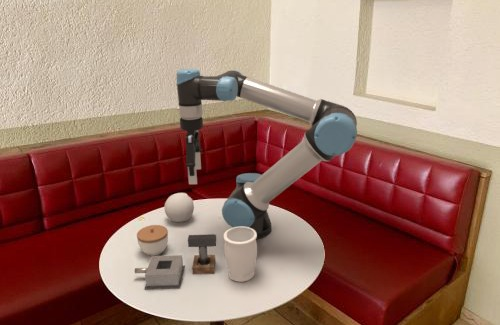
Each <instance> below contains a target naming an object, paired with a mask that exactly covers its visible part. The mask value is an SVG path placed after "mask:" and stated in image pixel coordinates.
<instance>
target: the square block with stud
mask: <svg viewBox="0 0 500 325" xmlns="http://www.w3.org/2000/svg"><path fill="white" fill-rule="evenodd" d="M183 258H184V257H183V255H179V254H177V255H155V256H151V258H150V261H149V264H148V266H147V267H136V268H134V273H135V274H144V277H145V278H144V279H145V285H144V290H170V289H171V290H174V289H175V290H176V289H181V286H182V282H183V279H184V278H183V277H184V274H185V270H186V265H184V261H183V260H184V259H183Z"/></svg>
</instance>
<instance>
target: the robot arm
mask: <svg viewBox="0 0 500 325" xmlns="http://www.w3.org/2000/svg"><path fill="white" fill-rule="evenodd" d="M176 87H177V88H176V90H177V98H178V99H177V100H178V101H177V102H178V106H177V107H176V108H177V110H176V111H179V124H180V130H182V131H185V132H187V133H186V134H185V142H186V143H185V148H186V150H185V152H186V154H185V155H186V158H185V160H186V162H185V164H184V167H185V168H187V178H188V185H198V176H197V175H198V174H197V170H202V162H201V161H202V160H201V152H202V151H203V148H202V147H201V143H200V142H201V141H200V134H199V131H200V130H203V127H204V122H203V120H204V119H203V104H202V101H218V102H219V101H220V102H221V101H222V102H230V101H231V102H233V101H235V100H236V99H237V98H240V99H243V100H247V101H249V102H251V103H255V104H257V105H259V106H263V107H266V108H268V109H272V110H274V111H277V112H279V113H283V114H285V115H288V116H291V117H294V118H297V119H299V120H302V121H305V122H308V123H309V125H310V127H309V128H308V130H306V131H305V132H304V136H303V140H302V141H301V142H299V143H298V144H297V145H296V146H295V147H293V149H290V151H289V152H287V153H286V154H285V155H283V157H282V158H281V159H279V160H278V161H277V162H276V163H275V164H273V165H272V166H271V167H269V168H268V169H267V170H266V171H264V173H262V174H260V173H256V172H254V173H253V172H252V173H251V172H248V173H241V174H239V175H238V174H237V176H236V178H235V179H236V181H235V182H236V187H235V189H234V190H233V191H232V192H231V194H230V195H229V197H227V199H226V200H224V203H223V206H222V209H221V213H222V214H221V215H222V218H223V221H225V223H226V224H227V225H228V226H229V227H230V228H233V227H239V226H244V227H249V228H252V229H254V230H255V231H256V233H257V238H256V240H257V239H261V238H265V237H267V236H269V234H271V232H272V222H271V219H270V216H269V213H268V209H269V208H270V202H271V201H273V200H274V199H275V198H276V197H278V196H279V195H280V194H282V193H283V192H284V191H286V189H287V188H289V187H290V186H291V185H292V184H294V183H295V182H296V181H298V180H299V179H300V178H302V177H303V176H304V175H305V174H307V173H308V172H310V171H311V170H312V169H313V168H314V167H316V166H317V165H318V164H320V163H321V162H330V161H331V160H333V159H334V158H335V157H336V156H341V155H344V154H345V153H347V152H348V151H350V150H351V148H352V147H353V145H354V144H355V142H356V140H357V135H358V129H357V125H358V123H357V122H358V121H357V117H356V115H355V114H354V112H353V111H352V110H351V109H350V108H348V107H347V106H344V105H341V104H339V103H336V102H332V101H329V100H326V99H322V98H320V99H317V100H316V99H312V98H310V97H307V96H304V95H302V94H300V93H299V94H298V93H296V92H294V91H293V92H292V91H291V90H290V91H289V90H286V89H284V88H280V87H278V86H275V85H272V84H269V83H267V82H263V81H261V80H258V79H255V78H252V77H248V76H246V75H243V74H242V73H241V71H239V70H236V69H234V70H232V69H231V70H227V71H225V72H224V73H221V74H218V75H216V76H212V75H211V76H209V75H207V76H205V75H201V72H200V70H199V68H198V69H197V68H184V69H179V70H177V71H176Z"/></svg>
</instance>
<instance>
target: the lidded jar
mask: <svg viewBox="0 0 500 325" xmlns="http://www.w3.org/2000/svg"><path fill="white" fill-rule="evenodd" d="M168 232H169V230H168V228H167V227H166V226H164V225H161V224H152V225H148V226H145V227H142V228H141V229H139V230H138V231H137V233H136V239H137V242H138V243H137V244H138V246H139V248H140V250H141V251H142V252H143V253H145V254H146V255H147V256H151V257H152V256H159V255H160V254H162V253H163V251H165V249H166V247H167V245H168V240H169V233H168Z"/></svg>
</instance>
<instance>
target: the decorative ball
mask: <svg viewBox="0 0 500 325" xmlns="http://www.w3.org/2000/svg"><path fill="white" fill-rule="evenodd" d="M163 208H164V213H165V215H166V217H167V218H168V219H169V220H170V221H171V222H174V223H184V222H186V221H188V220H189V219H190V218H191V217H192V216H193V213H194V211H195V205H194V201H193V198H191V196H189V195H188V194H187V193H186V192H177V193H174V194H171V195H170V196H168V198H167V199H166V201H165V202H164V207H163Z"/></svg>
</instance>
